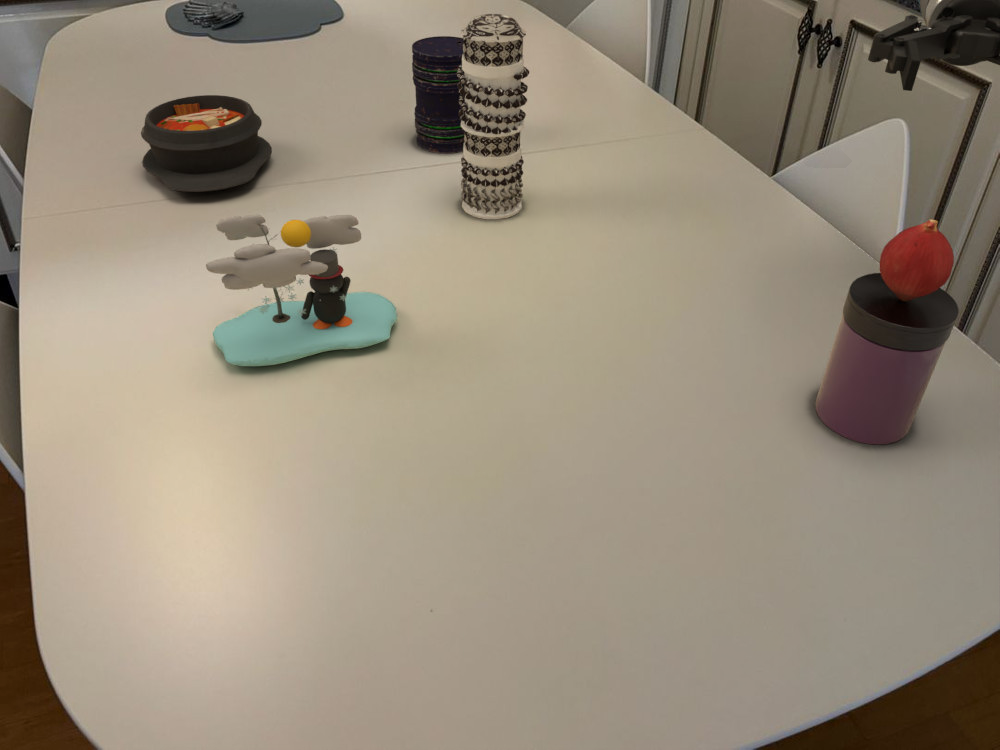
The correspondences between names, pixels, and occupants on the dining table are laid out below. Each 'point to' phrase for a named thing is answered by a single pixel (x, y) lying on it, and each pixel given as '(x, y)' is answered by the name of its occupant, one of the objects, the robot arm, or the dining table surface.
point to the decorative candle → (492, 115)
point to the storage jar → (438, 93)
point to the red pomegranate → (917, 261)
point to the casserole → (204, 143)
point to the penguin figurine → (295, 324)
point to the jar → (872, 387)
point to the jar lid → (899, 315)
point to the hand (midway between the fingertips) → (992, 84)
